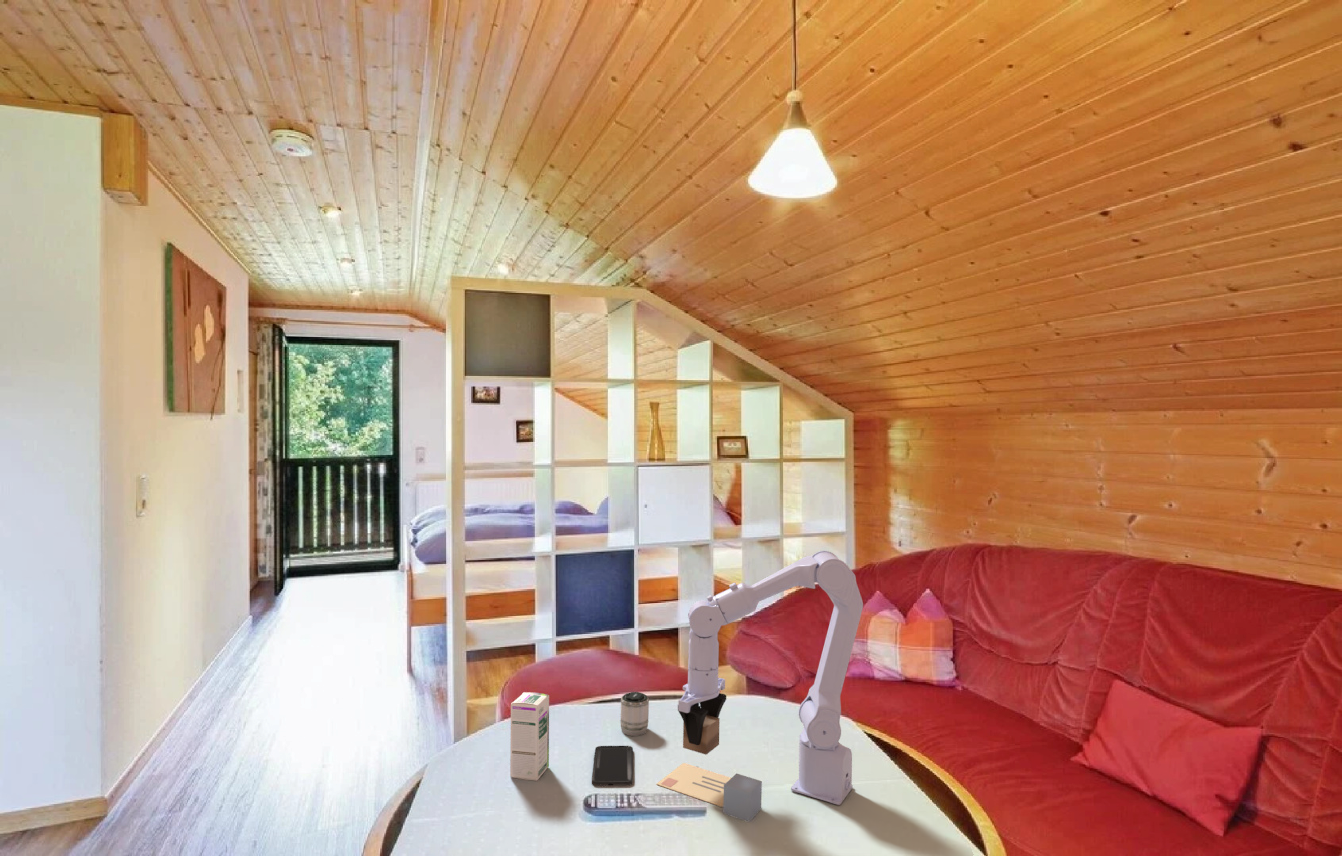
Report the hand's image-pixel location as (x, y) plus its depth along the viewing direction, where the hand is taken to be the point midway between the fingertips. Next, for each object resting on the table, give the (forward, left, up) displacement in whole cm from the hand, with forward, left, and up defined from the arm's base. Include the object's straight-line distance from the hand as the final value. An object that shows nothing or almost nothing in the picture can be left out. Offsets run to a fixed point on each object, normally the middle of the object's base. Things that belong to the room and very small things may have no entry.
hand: (701, 737), depth 130 cm
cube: (-10, +4, -9) cm, 14 cm away
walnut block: (0, 0, -2) cm, 2 cm away
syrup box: (+30, +15, -9) cm, 35 cm away
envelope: (0, 0, -9) cm, 9 cm away
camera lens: (+24, -12, -9) cm, 29 cm away
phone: (+18, +4, -10) cm, 21 cm away
